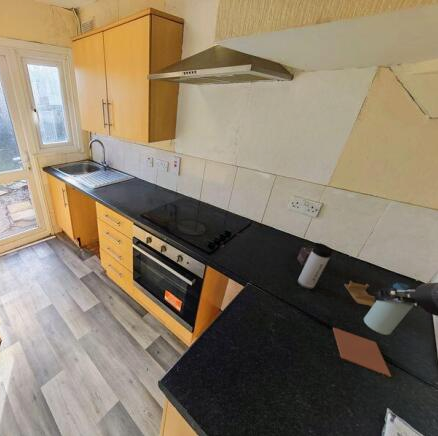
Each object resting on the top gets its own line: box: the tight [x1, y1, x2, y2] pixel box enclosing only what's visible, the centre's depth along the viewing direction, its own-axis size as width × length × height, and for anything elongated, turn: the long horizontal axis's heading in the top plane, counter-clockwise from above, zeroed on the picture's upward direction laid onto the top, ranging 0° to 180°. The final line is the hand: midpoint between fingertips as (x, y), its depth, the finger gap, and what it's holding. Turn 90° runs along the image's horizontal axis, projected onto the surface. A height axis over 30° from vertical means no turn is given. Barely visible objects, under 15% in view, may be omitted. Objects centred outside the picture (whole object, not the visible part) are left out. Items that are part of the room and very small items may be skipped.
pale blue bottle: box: [363, 282, 414, 336], centre depth 65 cm, size 16×6×6 cm
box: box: [296, 246, 313, 267], centre depth 112 cm, size 6×6×7 cm
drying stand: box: [343, 280, 377, 307], centre depth 95 cm, size 11×7×4 cm, turn 164°
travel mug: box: [297, 242, 333, 290], centre depth 96 cm, size 6×7×20 cm
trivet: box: [332, 326, 392, 378], centre depth 73 cm, size 12×12×1 cm
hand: (390, 299), depth 66 cm, fingers closed on pale blue bottle, 6 cm apart
